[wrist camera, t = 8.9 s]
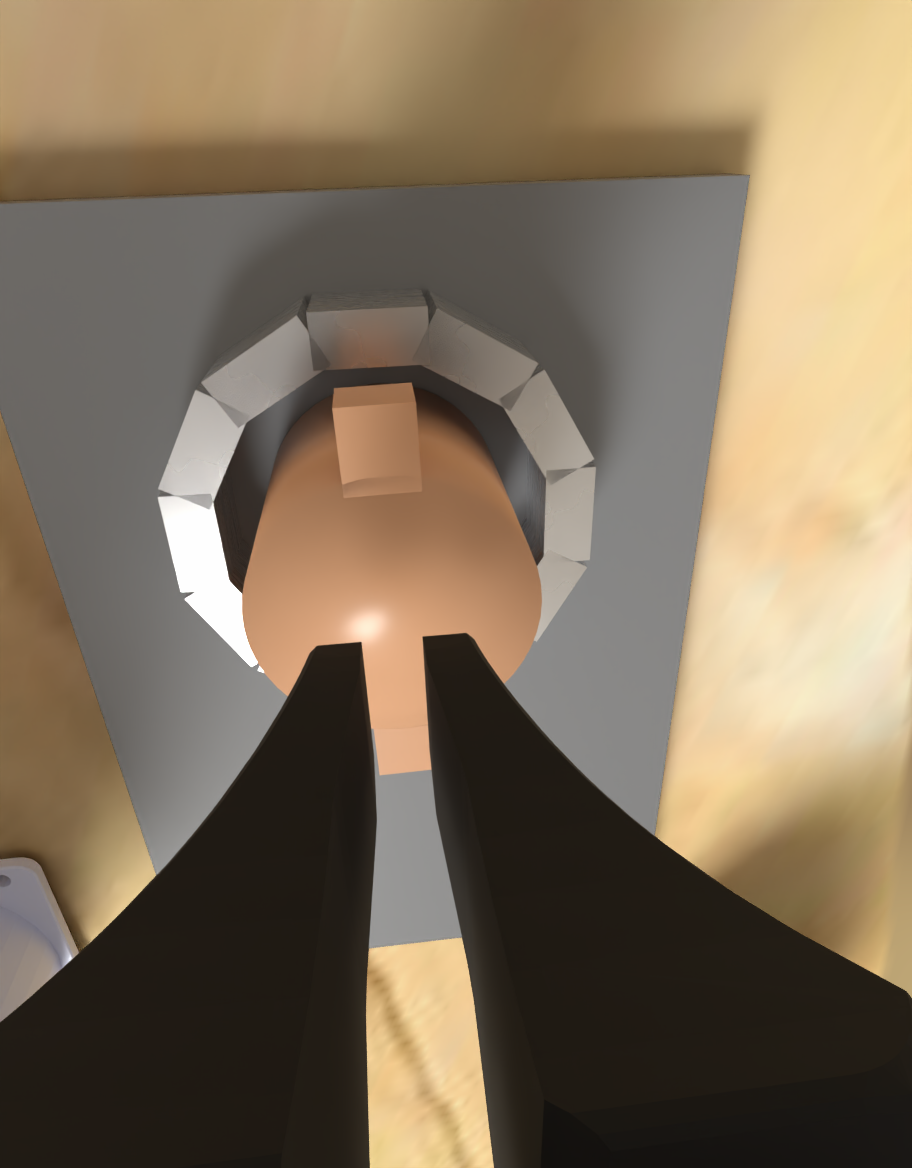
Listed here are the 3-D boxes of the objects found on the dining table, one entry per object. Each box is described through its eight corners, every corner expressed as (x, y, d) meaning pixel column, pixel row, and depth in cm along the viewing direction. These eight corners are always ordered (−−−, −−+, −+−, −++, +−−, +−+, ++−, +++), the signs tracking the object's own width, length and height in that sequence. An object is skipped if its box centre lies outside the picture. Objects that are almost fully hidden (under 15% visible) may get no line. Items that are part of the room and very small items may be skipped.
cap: (297, 637, 19) (279, 786, 14) (242, 336, 15) (196, 419, 11) (498, 617, 19) (539, 757, 15) (493, 320, 15) (545, 391, 11)
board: (194, 941, 25) (187, 969, 24) (-43, 203, 14) (-69, 206, 13) (633, 890, 26) (642, 916, 26) (728, 173, 15) (749, 175, 15)
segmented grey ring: (224, 662, 19) (210, 714, 17) (143, 301, 15) (115, 322, 13) (562, 633, 19) (581, 680, 18) (578, 280, 15) (607, 296, 14)
